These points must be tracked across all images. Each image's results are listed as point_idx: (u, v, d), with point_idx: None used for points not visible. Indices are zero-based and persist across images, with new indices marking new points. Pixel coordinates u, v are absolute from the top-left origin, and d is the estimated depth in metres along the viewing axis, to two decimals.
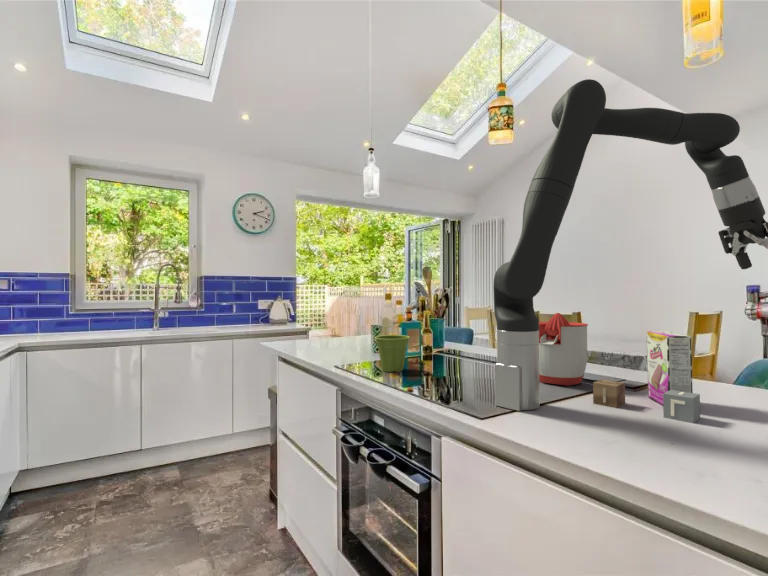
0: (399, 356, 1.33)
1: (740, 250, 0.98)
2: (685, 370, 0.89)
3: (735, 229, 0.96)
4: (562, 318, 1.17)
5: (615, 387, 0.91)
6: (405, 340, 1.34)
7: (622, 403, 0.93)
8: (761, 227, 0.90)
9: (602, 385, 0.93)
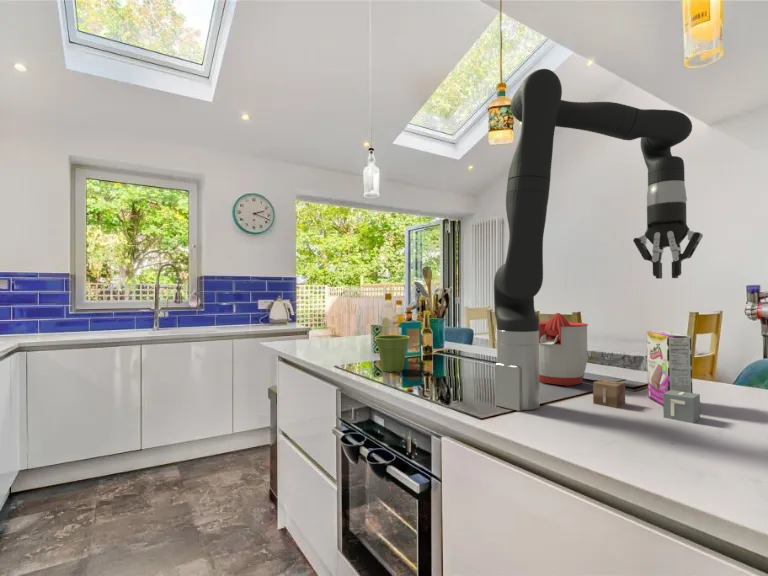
0: (399, 356, 1.33)
1: None
2: (685, 370, 0.89)
3: (655, 230, 0.95)
4: (562, 318, 1.17)
5: (615, 387, 0.91)
6: (405, 340, 1.34)
7: (622, 403, 0.93)
8: (685, 232, 0.91)
9: (602, 385, 0.93)
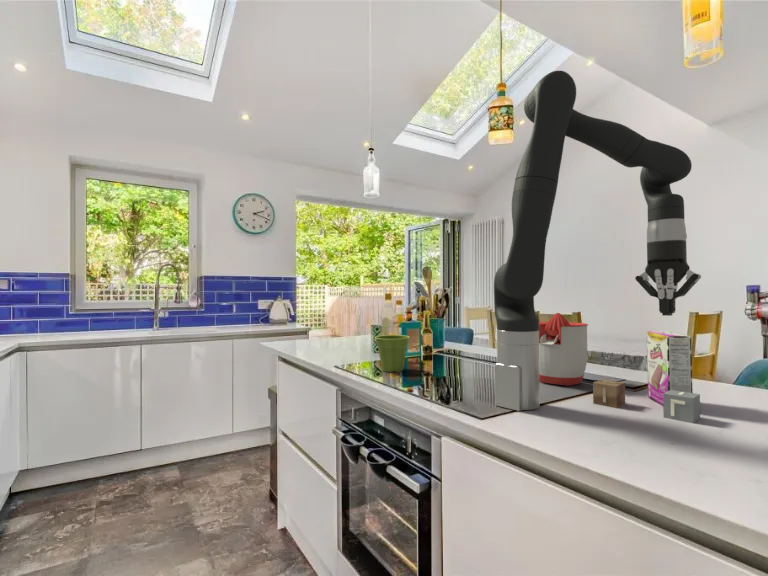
0: (399, 356, 1.33)
1: None
2: (685, 371, 0.89)
3: (655, 267, 0.95)
4: (562, 318, 1.17)
5: (615, 387, 0.91)
6: (405, 340, 1.34)
7: (622, 403, 0.93)
8: (685, 271, 0.91)
9: (602, 385, 0.93)
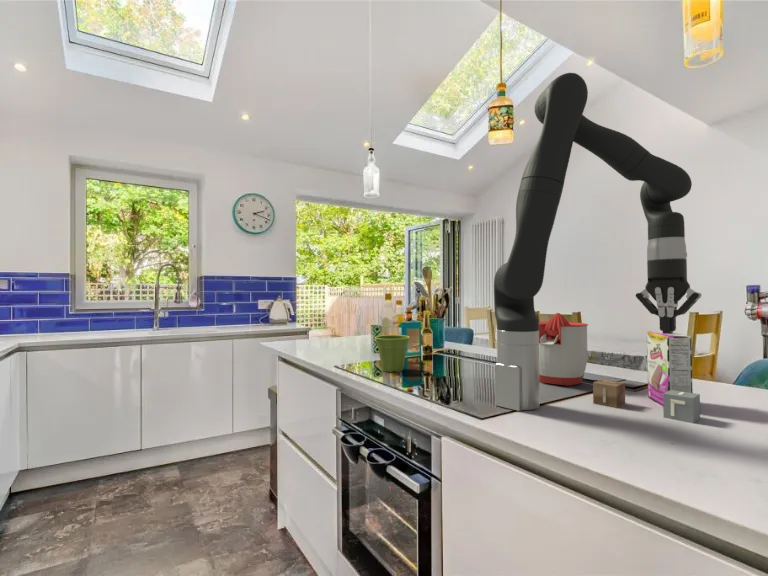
0: (399, 356, 1.33)
1: (664, 312, 0.95)
2: (685, 371, 0.89)
3: (655, 285, 0.95)
4: (562, 318, 1.17)
5: (615, 387, 0.91)
6: (405, 340, 1.34)
7: (622, 403, 0.93)
8: (685, 290, 0.91)
9: (602, 385, 0.93)
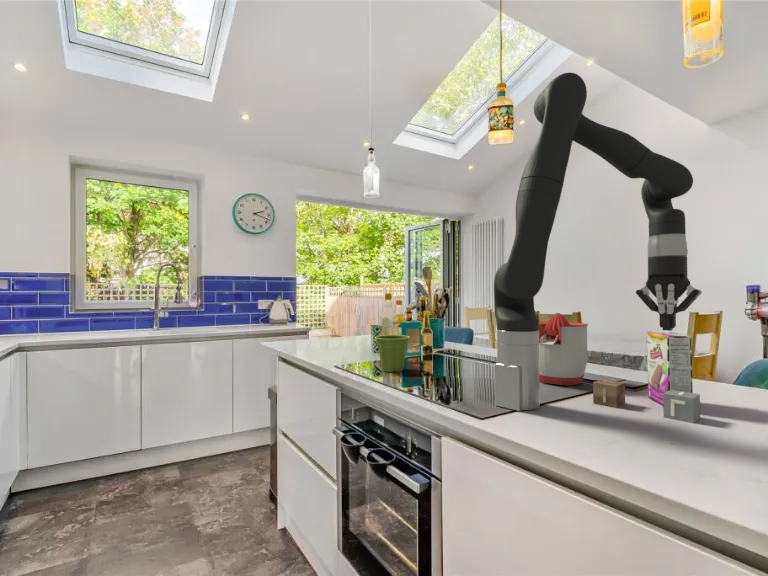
0: (399, 356, 1.33)
1: (664, 309, 0.95)
2: (685, 371, 0.89)
3: (655, 281, 0.95)
4: (562, 318, 1.17)
5: (615, 387, 0.91)
6: (405, 340, 1.34)
7: (622, 403, 0.93)
8: (685, 287, 0.91)
9: (602, 385, 0.93)
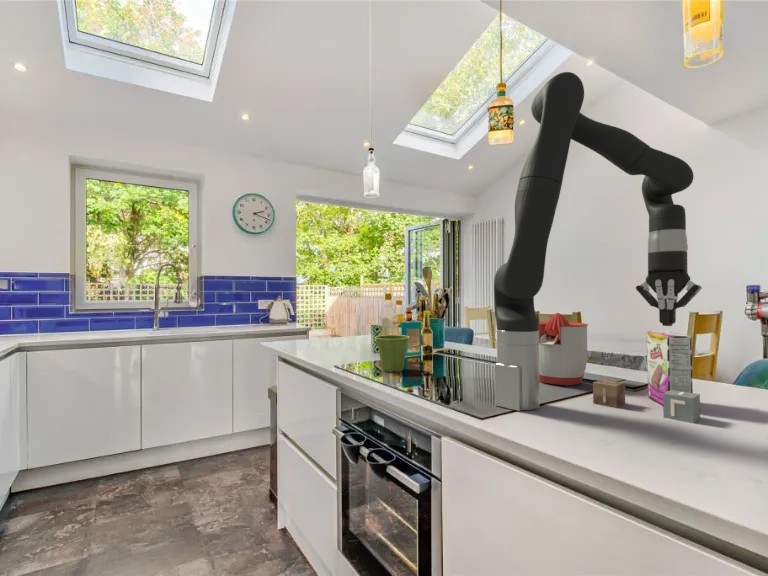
0: (399, 356, 1.33)
1: (664, 304, 0.95)
2: (685, 371, 0.88)
3: (655, 277, 0.95)
4: (562, 318, 1.17)
5: (615, 387, 0.91)
6: (405, 340, 1.34)
7: (622, 403, 0.93)
8: (685, 282, 0.91)
9: (602, 385, 0.93)
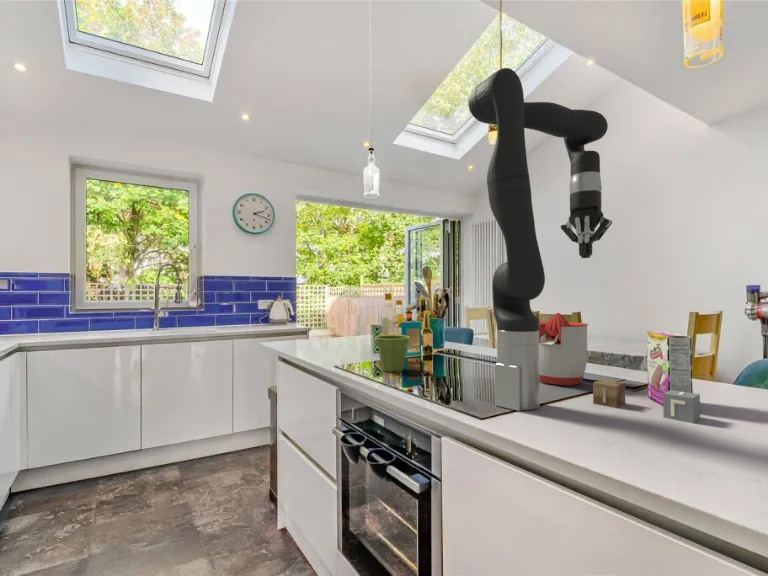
0: (399, 356, 1.33)
1: (583, 239, 1.08)
2: (685, 370, 0.89)
3: (576, 216, 1.08)
4: (562, 318, 1.17)
5: (615, 387, 0.91)
6: (405, 340, 1.34)
7: (622, 403, 0.93)
8: (598, 218, 1.04)
9: (602, 385, 0.93)
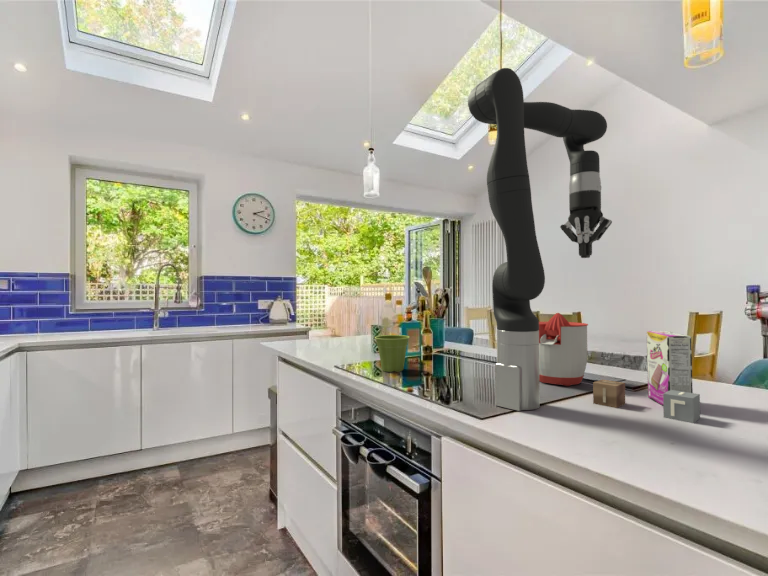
0: (399, 356, 1.33)
1: (583, 239, 1.08)
2: (685, 370, 0.89)
3: (575, 215, 1.09)
4: (562, 318, 1.17)
5: (615, 387, 0.91)
6: (405, 340, 1.34)
7: (622, 403, 0.93)
8: (598, 217, 1.04)
9: (602, 385, 0.93)
